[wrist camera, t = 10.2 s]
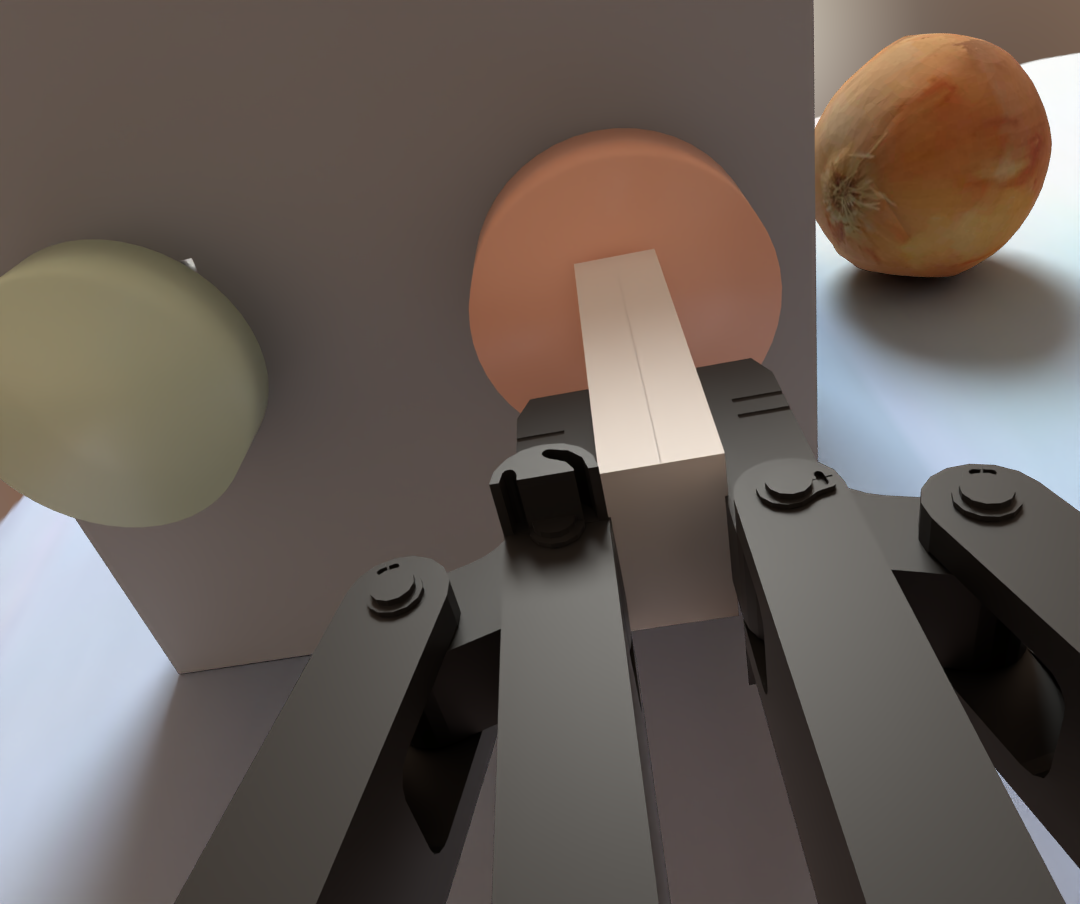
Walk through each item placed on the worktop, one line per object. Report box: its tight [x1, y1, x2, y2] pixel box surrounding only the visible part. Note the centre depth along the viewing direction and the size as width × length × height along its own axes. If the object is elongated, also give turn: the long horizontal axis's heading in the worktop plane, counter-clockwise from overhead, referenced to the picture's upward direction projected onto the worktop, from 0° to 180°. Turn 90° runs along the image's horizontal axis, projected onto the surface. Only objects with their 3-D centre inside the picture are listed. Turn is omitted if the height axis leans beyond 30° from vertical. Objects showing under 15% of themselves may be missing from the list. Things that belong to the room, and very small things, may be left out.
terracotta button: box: [469, 128, 782, 413], centre depth 19 cm, size 8×6×6 cm
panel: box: [0, 0, 818, 674], centre depth 21 cm, size 3×20×20 cm, turn 90°
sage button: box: [0, 239, 269, 527], centre depth 21 cm, size 8×6×6 cm
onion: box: [815, 33, 1052, 277], centre depth 36 cm, size 10×10×10 cm
